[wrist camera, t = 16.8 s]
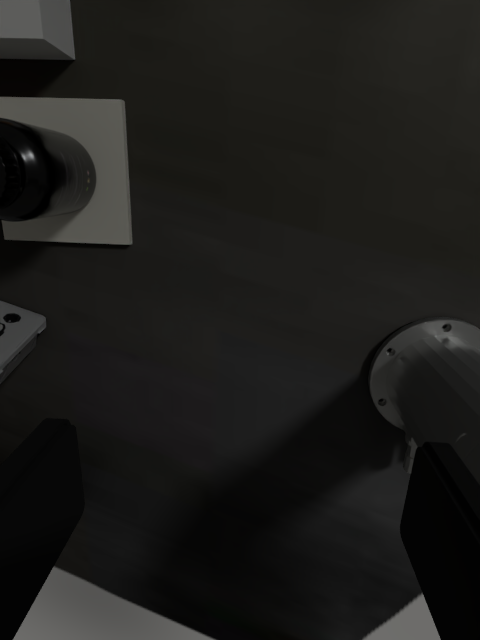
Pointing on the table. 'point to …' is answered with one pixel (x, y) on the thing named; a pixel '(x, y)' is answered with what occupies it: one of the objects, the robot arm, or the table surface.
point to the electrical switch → (17, 335)
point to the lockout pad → (109, 160)
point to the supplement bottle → (42, 172)
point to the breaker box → (36, 30)
